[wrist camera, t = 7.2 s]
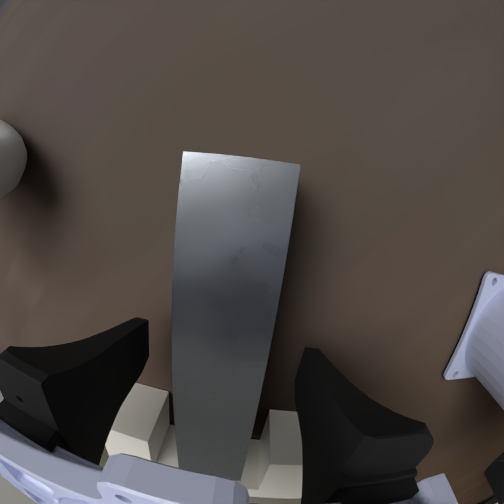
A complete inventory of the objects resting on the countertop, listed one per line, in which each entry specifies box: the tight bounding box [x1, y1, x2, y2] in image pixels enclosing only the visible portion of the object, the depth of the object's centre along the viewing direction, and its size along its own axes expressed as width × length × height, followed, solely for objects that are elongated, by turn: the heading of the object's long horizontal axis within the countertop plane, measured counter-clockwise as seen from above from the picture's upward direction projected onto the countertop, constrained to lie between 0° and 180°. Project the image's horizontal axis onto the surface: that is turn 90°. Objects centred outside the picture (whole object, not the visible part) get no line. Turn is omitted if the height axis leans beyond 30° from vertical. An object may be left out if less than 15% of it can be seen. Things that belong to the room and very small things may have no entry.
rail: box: [172, 152, 300, 481], centre depth 12 cm, size 4×16×5 cm, turn 172°
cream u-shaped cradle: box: [105, 383, 302, 498], centre depth 14 cm, size 12×5×4 cm, turn 81°
